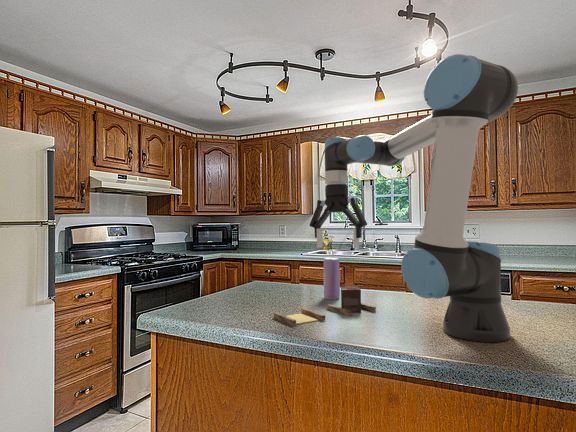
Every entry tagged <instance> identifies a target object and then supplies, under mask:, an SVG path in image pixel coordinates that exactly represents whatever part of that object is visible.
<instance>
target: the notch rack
mask: <svg viewBox="0 0 576 432" xmlns="http://www.w3.org/2000/svg"><path fill="white" fill-rule="evenodd" d="M326 310H328V311H330V312H331V311H332V312H334V313H337V314H341V315H343V316H347V317H351V316H352V315H353V314H352V313H353V312H352V311H350V310H347V309H343V308H341V306H336V305H332V304H330V303H328V304H326ZM361 310H364V311H368V312H372V313H375V312H377V311H376V310H377V307H376V306H374V305H369V304H366V303H362V302H361ZM301 313H302V314H305V315H307V316H310V317H313V318H315V319H318V321H320V322H321V321H322V322H325V321H326V315H325V314H323V313H319V312H316V311H314V310H310V309H308V308H305V307H303V308H301ZM287 316H288V315H284V314H281V313H280V312H277V311H276V312H273V319H276V320H278V321H280V322H282V323H284V324H287V325H289V326H292V327H297V325H296V320H294V319H292V318H289V317H287Z"/></svg>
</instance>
